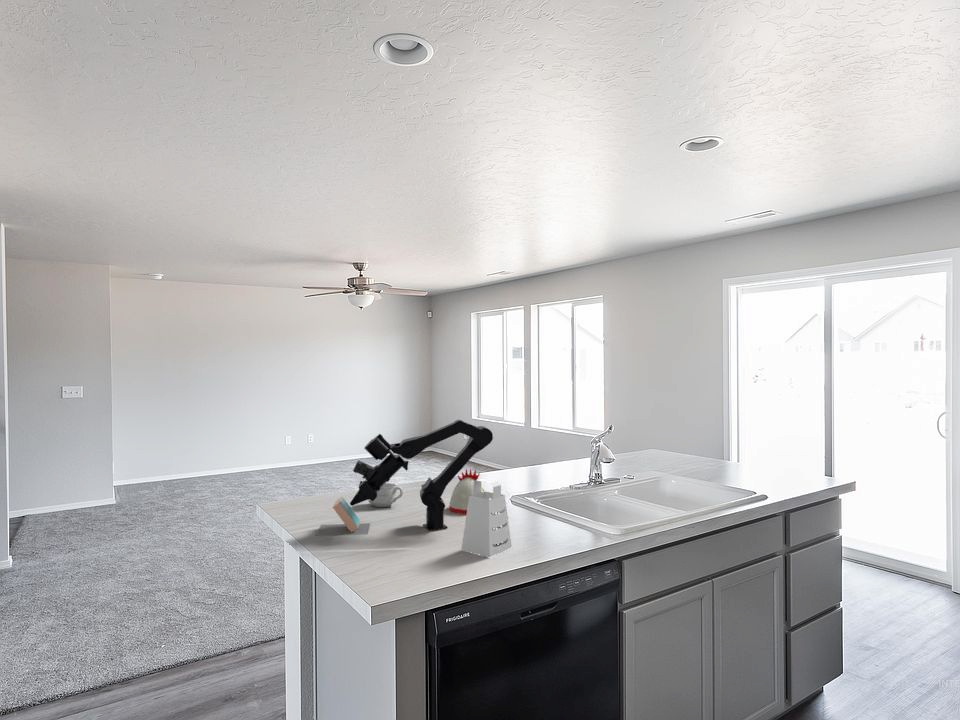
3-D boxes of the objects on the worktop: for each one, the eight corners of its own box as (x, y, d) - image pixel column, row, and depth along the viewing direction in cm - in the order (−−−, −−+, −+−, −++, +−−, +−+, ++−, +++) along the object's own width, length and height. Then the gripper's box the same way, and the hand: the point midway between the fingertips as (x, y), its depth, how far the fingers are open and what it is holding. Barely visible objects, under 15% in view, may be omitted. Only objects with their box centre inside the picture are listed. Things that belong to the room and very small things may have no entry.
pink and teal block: (360, 520, 188) (342, 496, 187) (358, 527, 180) (339, 502, 179) (353, 525, 187) (335, 501, 187) (351, 532, 179) (332, 507, 179)
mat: (370, 524, 190) (370, 523, 190) (367, 535, 178) (367, 534, 178) (321, 526, 188) (321, 524, 188) (315, 537, 176) (315, 535, 176)
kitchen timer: (486, 514, 204) (486, 472, 204) (448, 514, 204) (448, 472, 204) (486, 505, 218) (487, 465, 218) (450, 504, 218) (451, 465, 218)
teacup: (361, 507, 213) (361, 485, 213) (379, 500, 223) (379, 480, 223) (391, 511, 207) (391, 489, 207) (408, 505, 216) (409, 484, 216)
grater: (484, 541, 173) (484, 475, 173) (511, 548, 166) (512, 480, 166) (461, 550, 165) (461, 481, 165) (489, 558, 158) (490, 486, 158)
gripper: (370, 448, 193) (336, 480, 192) (366, 457, 175) (329, 493, 173) (393, 471, 194) (360, 504, 193) (392, 482, 176) (354, 519, 174)
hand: (350, 504), depth 183 cm, fingers closed
